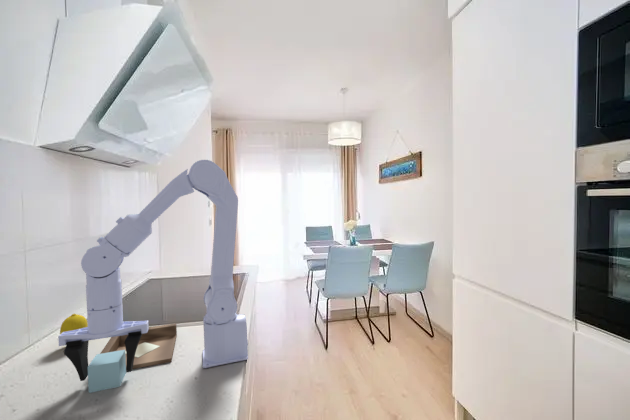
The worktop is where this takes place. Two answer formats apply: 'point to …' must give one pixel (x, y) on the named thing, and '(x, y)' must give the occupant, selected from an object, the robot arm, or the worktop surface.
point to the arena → (148, 346)
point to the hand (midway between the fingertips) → (107, 373)
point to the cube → (106, 371)
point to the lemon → (73, 323)
